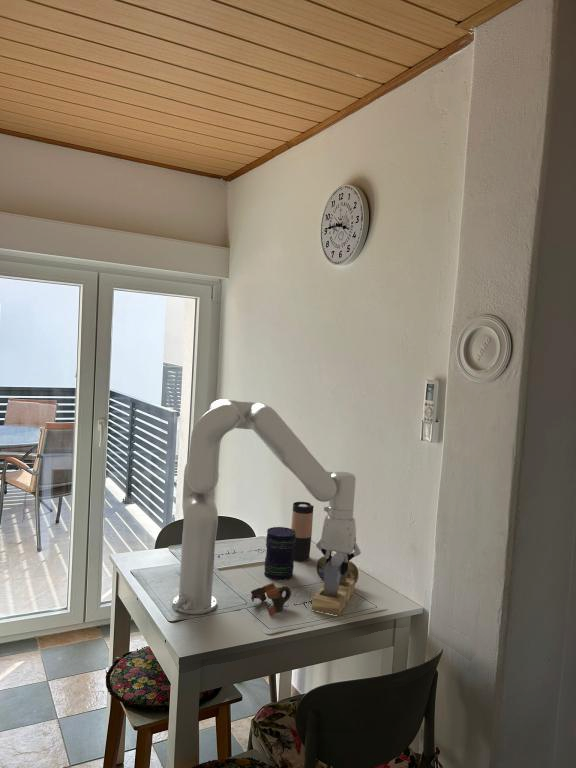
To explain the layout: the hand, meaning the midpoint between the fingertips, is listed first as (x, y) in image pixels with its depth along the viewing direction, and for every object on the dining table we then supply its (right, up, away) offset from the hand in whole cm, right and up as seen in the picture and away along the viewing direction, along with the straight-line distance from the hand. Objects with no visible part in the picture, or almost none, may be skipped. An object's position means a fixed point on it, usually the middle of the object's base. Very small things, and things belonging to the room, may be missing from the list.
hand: (336, 571), depth 179 cm
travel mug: (-11, -7, +36) cm, 38 cm away
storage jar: (-18, -7, +18) cm, 27 cm away
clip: (0, -5, 0) cm, 5 cm away
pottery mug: (-20, -9, -7) cm, 23 cm away
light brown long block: (-1, -9, +1) cm, 9 cm away
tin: (+1, -9, +15) cm, 17 cm away
